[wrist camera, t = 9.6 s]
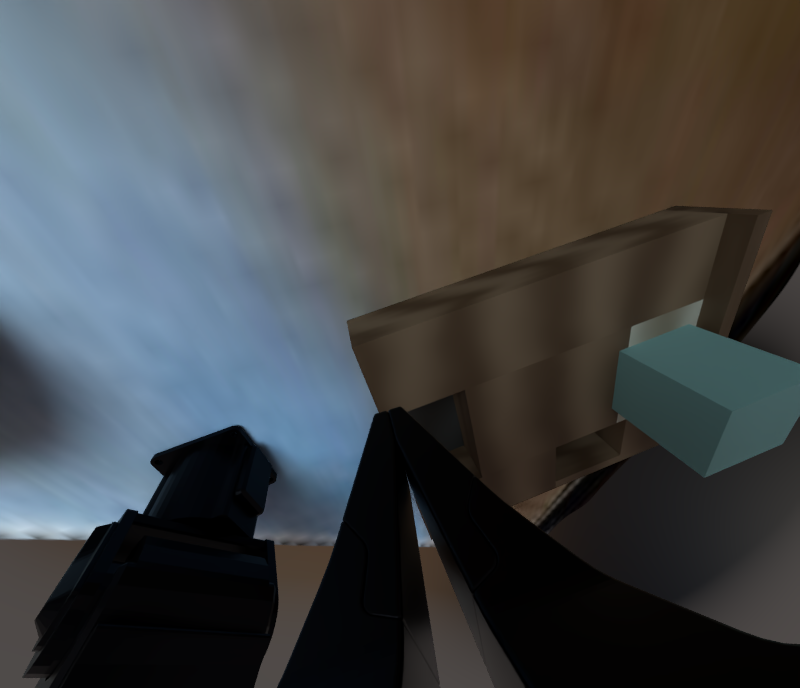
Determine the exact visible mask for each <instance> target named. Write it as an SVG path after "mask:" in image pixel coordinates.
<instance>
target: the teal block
mask: <svg viewBox="0 0 800 688" xmlns="http://www.w3.org/2000/svg"><path fill="white" fill-rule="evenodd" d="M612 409H613V410H614V411H616V412H617V413H618V414H620V415H621V416H622V417H624V418H625V419H627V420H628V421H629V422H631V423H632V424H633V425H635V426H636V427H637V428H639V429H640V430H641V431H643V432H644V433H645V434H647V435H648V436H649V437H651V438H652V439H653V440H655V441H656V442H657V443H659V444H660V445H661V446H663V447H664V448H665V449H667V450H668V451H669V452H671V453H672V454H674V455H675V456H676V457H677V458H679V459H680V460H681V461H683V462H684V463H685V464H687V465H688V466H689V467H691V468H692V469H693V470H695V471H696V472H697V473H699V474H700V475H701V476H703V477H704V478H705V477H707V476H709V475H712V474H714V473H716V472H718V471H721V470H723V469H725V468H728V467H730V466H732V465H735V464H737V463H739V462H742V461H744V460H746V459H748V458H751V457H753V456H755V455H758V454H760V453H762V452H765V451H767V450H769V449H772V448H774V447H776V446H779V445H781V444H783V442H784V441H785V439H786V437H787V436H788V434H789V432H790V431H791V429H792V427H793V425H794V424H795V422H796V420H797V419H798V417H799V415H800V364H798V363H796V362H793V361H790V360H787V359H785V358H782V357H779V356H776V355H774V354H771V353H767V352H765V351H762V350H760V349H757V348H754V347H751V346H749V345H746V344H743V343H740V342H738V341H735V340H732V339H729V338H726V337H724V336H721V335H718V334H715V333H713V332H710V331H707V330H704V329H702V328H699V327H696V326H693V325H690V324H688V325H685V326H682V327H680V328H677V329H675V330H672V331H670V332H667V333H664V334H662V335H659V336H657V337H654V338H652V339H649V340H646V341H644V342H641V343H639V344H636V345H633V346H631V347H628V348H626V349H623V350H621V351H619V358H618V366H617V373H616V381H615V388H614V395H613V403H612Z"/></svg>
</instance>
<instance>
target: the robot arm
mask: <svg viewBox="0 0 800 688" xmlns="http://www.w3.org/2000/svg"><path fill="white" fill-rule="evenodd" d="M232 432H236V433H232ZM150 463H151V465H152V466H153V467H155V468H156V469H157V470H158V471H159V472H160V473H161V474H162V475H163V476H164V477H163V478H162V480H161V482H160V484H159V486H158V487H157V489H156V491H155V493H154V495H153V496H152V498H151V500H150V502H149V504H148V505H147V507H146V509H145V511H144V513H143V514H139V513H138V511H135V510H130V509H127V510H126V511H125V513H124V514H123V515H122V517H121V518H120V520H119V521H118V522H112V524H108V525H103V526H99V527H96V528H95V530H94V531H93V532H92V534H91V535H90V537H89V538H88V540H87V541H86V543H85V544H84V546H83V547H82V549H81V550H80V552H79V553H78V555H77V556H76V558H75V559H74V561H73V562H72V564H71V565H70V567H69V568H68V570H67V571H66V573H65V574H64V576H63V577H62V579H61V580H60V582H59V583H58V585H57V586H56V588H55V590H54V591H53V593H52V594H51V596H50V597H49V599H48V600H47V602H46V603H45V605H44V607H43V608H42V610H41V611H40V613H39V614H38V616H37V617H36V619H35V625H36V629H37V632H38V636H39V639H38V641H37V643H36V644H35V646H34V648H33V650H32V651H35V654H34V656H33V658H32V660H31V661H30V664H29V665H28V667H27V669H26V671H25V673H24V675H23V678H40V680H39V682H38V684H37V685H36V687H35V688H254V685H255V682H256V679H257V675H258V672H259V669H260V665H261V663H262V660H263V658H264V655H265V653H266V651H267V649H268V646H269V643H270V640H271V638H272V635H273V631H274V627H275V623H276V618H277V612H278V585H277V573H276V561H275V549H274V541H272V540H267V539H266V540H265V541H264V540H259V539H255V538H253V536H254V531H255V526H256V521H257V516H258V515H260V514H262V513H263V511H264V507H265V502H266V496H267V491H268V485H270V484H272V483H274V482H275V481H276V479H277V474H276V472H275V471H274V470H273V468H272V465H271V464H270V462H269V461H268V460H267V458H266V457H265V456H264V454H263V453H262V452H261V450H260V449H259V448H258V447H257V446H256V445H254V444H253V442H252V441H251V440H250V438H249V437H248V436H247V434H246V433H245V432H244V431H243V429H242V428H241V427H239V426H231V427H228V428H225V429H223V430H220V431H217V432H214V433H212V434H209V435H206V436H203V437H201V438H198V439H195V440H193V441H190V442H187V443H184V444H182V445H179V446H176V447H173V448H171V449H168V450H165V451H163V452H160V453H157V454H155V455H154V456H153V458H152V459H151V461H150ZM406 474H407V475H406ZM270 477H271V478H270ZM407 477H408V479H407ZM408 481H409V483H410V486H411V489H412V491H413V494H414V496H415V498H416V501H417V503H418V505H419V508H420V510H421V513H422V515H423V517H424V520H425V522H426V525H427V527H428V529H429V532H430V534H431V537H432V539H433V541H434V544H435V546H436V548H437V551H438V553H439V556H440V558H441V560H442V563H443V565H444V567H445V570H446V572H447V574H448V577H449V579H450V582H451V584H452V587H453V589H454V592H455V593H456V596H457V599H458V601H459V603H460V606H461V608H462V611H463V613H464V615H465V618H466V620H467V623H468V625H469V627H470V630H471V632H472V634H473V637H474V639H475V642H476V644H477V647H478V649H479V651H480V654H481V656H482V658H483V661H484V663H485V665H486V667H487V670H488V673H489V675H490V678H491V680H492V682H493V685H494V687H495V688H800V644H787V643H780V642H776V641H771V640H767V639H763V638H760V637H757V636H754V635H751V634H749V633H746V632H743V631H740V630H738V629H735V628H733V627H730V626H728V625H726V624H723V623H721V622H718V621H716V620H713V619H711V618H709V617H706V616H704V615H701V614H699V613H696V612H694V611H692V610H689V609H687V608H684V607H682V606H679V605H677V604H674V603H672V602H670V601H667V600H665V599H662V598H660V597H657V596H655V595H653V594H650V593H648V592H645V591H643V590H640V589H638V588H635V587H633V586H631V585H628V584H626V583H623V582H621V581H619V580H616V579H614V578H612V577H610V576H608V575H606V574H604V573H603V572H601V571H599V570H597V569H596V568H594V567H592V566H591V565H589V564H588V563H586V562H585V561H583V560H582V559H580V558H579V557H578V556H576V555H575V554H573V553H572V552H571V551H569V550H568V549H567V548H565V547H564V546H563V545H561V544H560V543H559V542H557V541H556V540H554V539H553V538H552V537H550V536H549V535H548V534H546V533H545V532H544V531H542V530H541V529H540V528H538V527H537V526H536V525H534V524H533V523H532V522H530V521H529V520H528V519H526V518H525V517H524V516H522V515H521V514H520V513H518V512H517V511H516V510H515V509H513V508H512V507H511V506H509V505H508V504H507V503H506V502H504V501H503V500H502V499H501V498H500V497H499V496H497V495H496V494H495V493H494V492H493V491H492V490H491V489H489V488H488V487H487V486H486V485H485V484H484V483H483V482H482V481H481V480H480V479H479V478H477V477H475V476H474V474H473V473H472V472H471V471H470V470H469V469H468V468H467V467H465V466H464V465H463V464H462V463H461V462H460V461H459V460H458V459H457V458H456V457H455V456H454V455H453V454H452V453H451V452H449V451H448V450H447V449H446V448H445V447H444V446H443V445H442V444H441V443H440V442H439V441H438V440H437V439H436V438H434V437H433V436H432V435H431V434H430V433H429V432H428V431H427V430H426V429H425V428H424V427H423V426H422V425H421V424H419V423H418V422H417V421H416V420H415V419H414V418H413V417H412V416H411V415H410V414H409V413H408V412H407V411H406V410H405V409H403V408H402V407H400V406H399V407H396V408H393V409H390V410H389V411H383V412H380V413H377V414H375V415H374V417H373V421H372V424H371V427H370V431H369V434H368V437H367V441H366V444H365V447H364V450H363V454H362V457H361V460H360V464H359V467H358V470H357V474H356V477H355V480H354V484H353V487H352V490H351V494H350V497H349V500H348V504H347V507H346V510H345V514H344V517H343V521H344V522H342V523H341V526H340V530H339V533H338V536H337V540H336V543H335V546H334V549H333V552H332V555H331V558H330V561H329V563H328V566H327V569H326V571H325V574H324V576H323V579H322V582H321V584H320V587H319V589H318V592H317V594H316V597H315V599H314V601H313V604H312V606H311V609H310V611H309V614H308V616H307V618H306V621H305V623H304V626H303V628H302V631H301V633H300V635H299V638H298V640H297V643H296V645H295V647H294V650H293V652H292V655H291V657H290V660H289V662H288V664H287V667H286V669H285V671H284V674H283V676H282V678H281V680H280V682H279V684H278V687H277V688H440V687H439V676H438V670H437V663H436V657H435V650H434V644H433V638H432V631H431V625H430V618H429V611H428V606H427V599H426V592H425V586H424V579H423V573H422V566H421V560H420V553H419V547H418V540H417V534H416V528H415V521H414V515H413V508H412V502H411V495H410V489H409V484H408Z"/></svg>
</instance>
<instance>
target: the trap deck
mask: <svg viewBox="0 0 800 688" xmlns="http://www.w3.org/2000/svg"><path fill="white" fill-rule="evenodd" d="M771 213H772V210H760V209H736V208H712V207H688V206H674V207H671V208H669V209H666V210H663V211H660V212H657V213H654V214H651V215H649V216H646V217H643V218H640V219H637V220H634V221H631V222H628V223H626V224H623V225H620V226H617V227H614V228H611V229H608V230H606V231H603V232H600V233H597V234H594V235H591V236H588V237H586V238H583V239H580V240H577V241H574V242H571V243H568V244H566V245H563V246H560V247H557V248H554V249H551V250H548V251H545V252H543V253H540V254H537V255H534V256H531V257H528V258H525V259H523V260H520V261H517V262H514V263H511V264H508V265H505V266H503V267H500V268H497V269H494V270H491V271H488V272H485V273H483V274H480V275H477V276H474V277H471V278H468V279H465V280H462V281H460V282H457V283H454V284H451V285H448V286H445V287H442V288H440V289H437V290H434V291H431V292H428V293H425V294H422V295H420V296H417V297H414V298H411V299H408V300H405V301H402V302H400V303H397V304H394V305H391V306H388V307H385V308H382V309H379V310H377V311H374V312H371V313H368V314H365V315H362V316H359V317H357V318H354V319H351V320H348V321H347V324H348V330H349V335H350V340H351V345H352V349H353V351H354V354H355V356H356V359H357V361H358V363H359V366H360V368H361V371H362V373H363V375H364V378H365V380H366V383H367V385H368V387H369V390H370V392H371V395H372V397H373V400H374V402H375V404H376V407H377V409H378V412H379V413H380V412H383V411H389V410H390V409H393V408H396V407H399V406H400V407H402V408H403V409H405V410H406V411H407V412H408V413H409V414H410V415H411V416H412V417H413V418H414V419H415V420H416V421H417V422H418V423H419V424H421V425H422V426H423V427H424V428H425V429H426V430H427V431H428V432H429V433H430V434H431V435H432V436H433V437H434V438H436V439H437V440H438V441H439V442H440V443H441V444H442V445H443V446H444V447H445V448H446V449H447V450H448V451H449V452H451V453H452V454H453V455H454V456H455V457H456V458H457V459H458V460H459V461H460V462H461V463H462V464H463V465H464V466H465V467H467V468H468V469H469V470H470V471H471V472H472V473H473V474H474V476H475V477H477V478H479V479H480V480H481V481H482V482H483V483H484V484H485V485H486V486H487V487H488V488H489V489H491V490H492V491H493V492H494V493H495V494H496V495H497V496H499V497H500V498H501V499H502V500H503V501H504V502H506V503H507V504H508V505H509V506H513V505H516V504H518V503H520V502H523V501H525V500H528V499H530V498H532V497H535V496H537V495H540V494H542V493H544V492H547V491H549V490H552V489H554V488H556V487H559V486H561V485H564V484H566V483H568V482H571V481H573V480H576V479H578V478H580V477H583V476H585V475H588V474H590V473H592V472H595V471H597V470H600V469H602V468H604V467H607V466H609V465H612V464H614V463H616V462H619V461H621V460H624V459H626V458H628V457H631V456H633V455H636V454H638V453H640V452H643V451H645V450H648V449H650V448H652V447H654V446H657V445H660V444H659V443H657V442H656V441H655V440H653V439H652V438H651V437H649V436H648V435H647V434H645V433H644V432H643V431H641V430H640V429H639V428H637V427H636V426H635V425H633V424H632V423H631V422H629V421H628V420H627V419H625V418H624V417H622V416H621V415H620V414H618V413H617V412H616V411H614V410H613V409H612V403H613V395H614V388H615V381H616V373H617V366H618V358H619V351H621V350H623V349H626V348H628V347H631V346H633V345H636V344H639V343H641V342H644V341H646V340H649V339H652V338H654V337H657V336H659V335H662V334H664V333H667V332H670V331H672V330H675V329H677V328H680V327H682V326H685V325H688V324H690V325H693V326H696V327H699V328H702V329H704V330H707V331H710V332H713V333H715V334H718V335H721V336H724V337H726V338H728V335H729V332H730V329H731V326H732V323H733V321H734V318H735V315H736V312H737V309H738V306H739V304H740V301H741V298H742V295H743V292H744V289H745V286H746V284H747V281H748V278H749V275H750V272H751V269H752V267H753V264H754V261H755V258H756V255H757V252H758V250H759V247H760V244H761V241H762V238H763V235H764V233H765V230H766V227H767V224H768V221H769V218H770V216H771ZM414 497H415V496H414ZM415 500H416V498H415ZM416 503H417V501H416ZM417 506H418V508H419V505H418V503H417ZM419 511H420V513H421V510H420V508H419ZM421 515H422V513H421ZM422 518H423V520H424V517H423V515H422ZM424 523H425V525H426V522H425V520H424ZM426 527H427V525H426ZM427 530H428V532H429V529H428V527H427ZM429 535H430V537H431V534H430V532H429ZM431 540H432V537H431Z"/></svg>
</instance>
